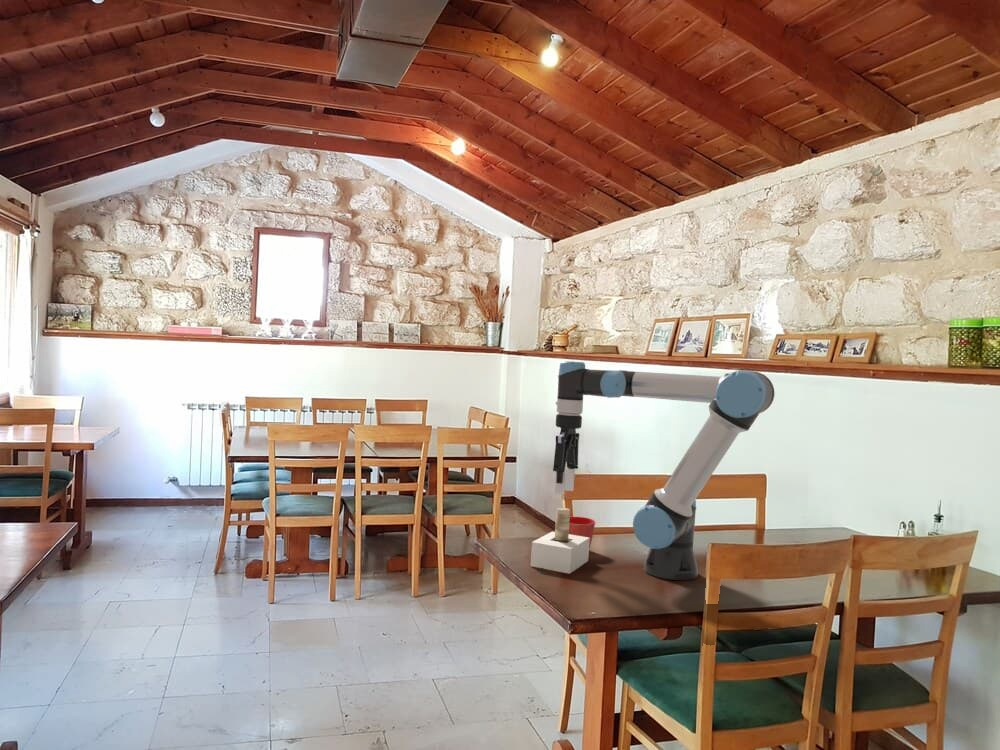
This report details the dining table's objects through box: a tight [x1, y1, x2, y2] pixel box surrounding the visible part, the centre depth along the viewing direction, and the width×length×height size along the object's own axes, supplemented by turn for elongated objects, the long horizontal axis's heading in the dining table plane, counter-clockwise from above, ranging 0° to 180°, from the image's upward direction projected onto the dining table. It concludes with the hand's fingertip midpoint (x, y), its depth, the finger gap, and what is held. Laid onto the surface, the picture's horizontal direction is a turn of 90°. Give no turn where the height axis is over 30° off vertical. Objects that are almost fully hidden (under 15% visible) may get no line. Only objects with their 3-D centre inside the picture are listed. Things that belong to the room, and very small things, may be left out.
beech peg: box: [554, 507, 571, 543], centre depth 219 cm, size 4×4×14 cm
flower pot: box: [569, 516, 596, 550], centre depth 235 cm, size 11×11×10 cm
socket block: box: [529, 531, 590, 574], centre depth 219 cm, size 12×16×7 cm
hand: (564, 492), depth 219 cm, fingers open, 7 cm apart
